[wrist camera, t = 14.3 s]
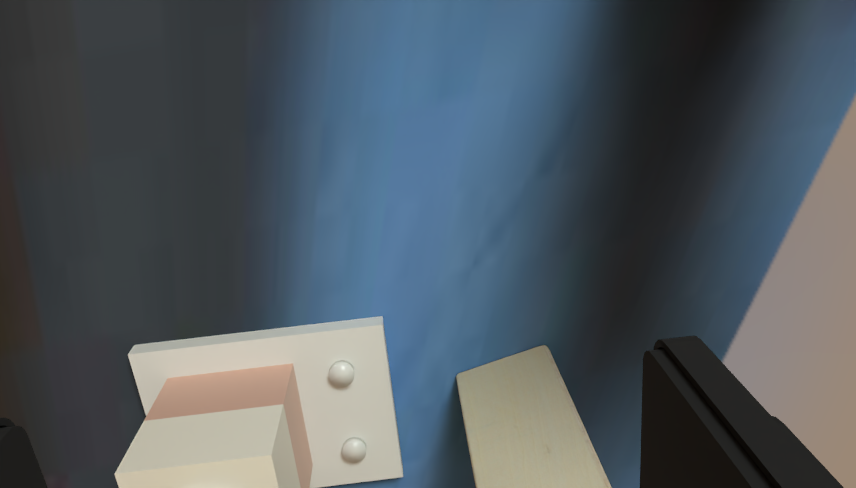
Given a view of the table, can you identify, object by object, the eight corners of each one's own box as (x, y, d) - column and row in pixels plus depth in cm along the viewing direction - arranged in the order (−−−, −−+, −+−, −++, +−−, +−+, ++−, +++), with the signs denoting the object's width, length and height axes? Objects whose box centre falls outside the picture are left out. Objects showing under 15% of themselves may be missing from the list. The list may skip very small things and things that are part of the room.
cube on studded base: (382, 316, 43) (383, 408, 33) (402, 465, 47) (408, 584, 38) (134, 344, 43) (63, 446, 33) (177, 493, 47) (126, 620, 37)
